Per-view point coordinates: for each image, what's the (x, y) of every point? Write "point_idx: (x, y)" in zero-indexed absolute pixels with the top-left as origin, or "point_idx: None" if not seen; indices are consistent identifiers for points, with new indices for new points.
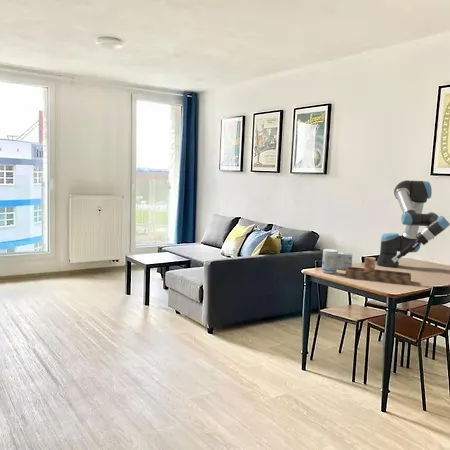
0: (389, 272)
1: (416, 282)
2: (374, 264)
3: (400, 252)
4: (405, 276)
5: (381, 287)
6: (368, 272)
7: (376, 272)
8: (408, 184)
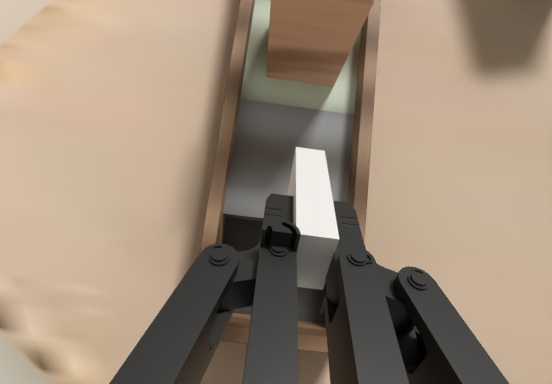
0: (352, 184)
1: (306, 378)
2: (269, 23)
3: (263, 234)
4: None
5: (52, 119)
6: (236, 25)
7: (355, 100)
8: None
